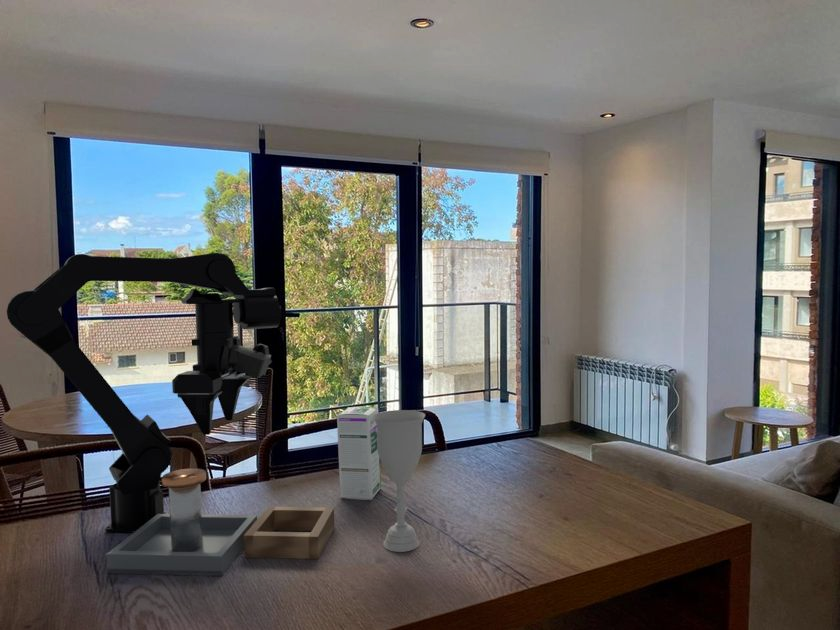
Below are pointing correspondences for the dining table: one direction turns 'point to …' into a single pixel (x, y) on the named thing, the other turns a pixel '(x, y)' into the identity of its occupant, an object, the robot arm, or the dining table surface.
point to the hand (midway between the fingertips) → (218, 427)
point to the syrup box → (358, 453)
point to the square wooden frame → (289, 533)
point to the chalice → (400, 466)
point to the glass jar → (185, 508)
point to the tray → (155, 555)
